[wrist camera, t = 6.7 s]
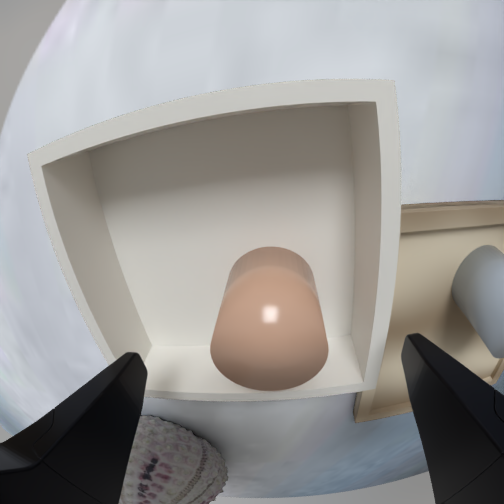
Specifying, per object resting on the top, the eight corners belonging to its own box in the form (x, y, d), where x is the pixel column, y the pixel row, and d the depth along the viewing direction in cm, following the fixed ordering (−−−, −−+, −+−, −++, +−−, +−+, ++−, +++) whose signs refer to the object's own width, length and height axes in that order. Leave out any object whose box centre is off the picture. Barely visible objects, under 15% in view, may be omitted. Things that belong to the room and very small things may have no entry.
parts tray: (490, 374, 15) (495, 383, 14) (353, 411, 17) (355, 423, 16) (548, 199, 9) (558, 205, 9) (374, 206, 11) (382, 214, 10)
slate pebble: (493, 301, 12) (529, 346, 8) (445, 312, 12) (479, 367, 9) (508, 241, 10) (556, 281, 7) (458, 248, 11) (508, 296, 7)
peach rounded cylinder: (315, 316, 13) (326, 386, 9) (235, 322, 13) (222, 392, 9) (312, 242, 11) (329, 303, 8) (220, 251, 12) (197, 313, 8)
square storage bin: (358, 334, 14) (375, 388, 11) (149, 346, 15) (127, 394, 12) (357, 90, 9) (394, 80, 6) (82, 139, 10) (27, 153, 7)
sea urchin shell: (65, 401, 20) (31, 465, 13) (169, 387, 17) (134, 495, 10) (152, 468, 25) (137, 524, 18) (259, 464, 22) (254, 538, 15)
